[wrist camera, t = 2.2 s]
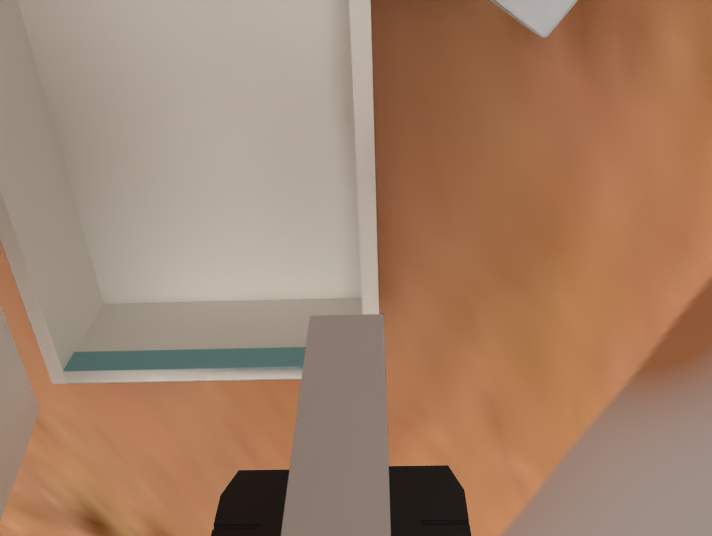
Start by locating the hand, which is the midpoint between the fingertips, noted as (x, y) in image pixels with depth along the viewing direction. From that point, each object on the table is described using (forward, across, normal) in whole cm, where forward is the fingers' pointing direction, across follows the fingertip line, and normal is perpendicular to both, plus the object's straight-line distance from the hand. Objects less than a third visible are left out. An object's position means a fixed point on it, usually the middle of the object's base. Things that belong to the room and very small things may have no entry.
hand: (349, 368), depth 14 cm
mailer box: (+14, -6, 0) cm, 16 cm away
